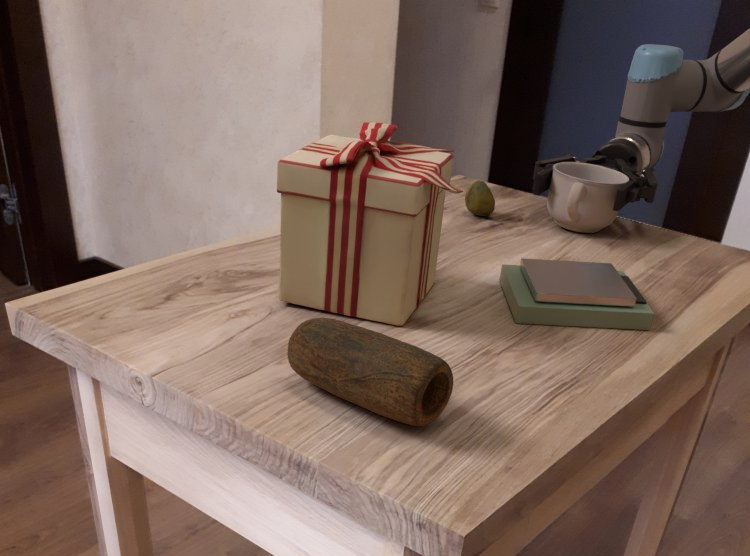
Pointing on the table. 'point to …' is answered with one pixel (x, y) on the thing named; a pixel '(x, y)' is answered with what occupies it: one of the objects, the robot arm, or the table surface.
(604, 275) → the pan
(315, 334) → the wooden vase
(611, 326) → the scale
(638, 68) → the robot arm
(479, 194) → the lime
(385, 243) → the gift box
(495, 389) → the table surface
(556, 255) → the table surface
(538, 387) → the table surface
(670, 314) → the table surface
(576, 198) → the teacup
